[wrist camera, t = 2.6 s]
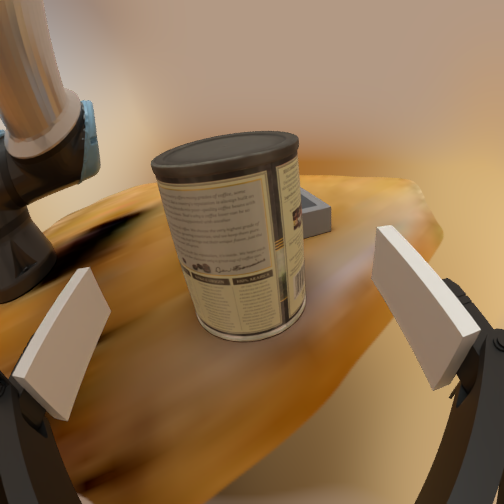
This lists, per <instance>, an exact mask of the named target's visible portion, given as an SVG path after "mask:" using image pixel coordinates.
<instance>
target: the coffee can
mask: <svg viewBox="0 0 504 504" xmlns="http://www.w3.org/2000/svg"><path fill="white" fill-rule="evenodd" d="M298 147H299V140H298V137H297V136H296V135H294V134H291V133H286V132H279V131H255V132H243V133H234V134H227V135H221V136H215V137H211V138H206V139H202V140H198V141H194V142H191V143H187V144H184V145H181V146H178V147H175V148H173V149H171V150H168V151H166V152H164V153H162V154H160V155H159V156H157V157H156V158H154V159H153V160H152V161H151V167H152V170H153V172H154V174H155V175H156V179H157V183H158V187H159V191H160V195H161V199H162V202H163V206H164V210H165V213H166V217H167V220H168V224H169V227H170V231H171V234H172V238H173V241H174V245H175V248H176V251H177V254H178V258H179V261H180V264H181V267H182V271H183V274H184V277H185V280H186V283H187V286H188V289H189V292H190V295H191V298H192V300H193V303H194V306H195V310H196V315H197V318H198V320H199V322H200V324H201V325H202V326H203V327H204V328H205V329H206V330H207V331H209V332H210V333H211V334H213V335H215V336H218V337H220V338H223V339H226V340H231V341H256V340H261V339H264V338H268V337H271V336H273V335H276V334H279V333H281V332H282V331H284V330H286V329H287V328H289V327H290V326H291V325H292V324H293V323H294V322H295V321H296V320H298V318H299V317H300V315H301V313H302V312H303V310H304V307H305V304H306V292H305V268H304V245H303V225H302V207H301V192H300V179H299V168H298V155H297V149H298Z"/></svg>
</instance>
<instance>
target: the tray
mask: <svg viewBox="0 0 504 504" xmlns="http://www.w3.org/2000/svg"><path fill="white" fill-rule="evenodd" d="M300 192H301V207H302V225H303V239H304V238H307V237H311V236H315V235H318V234H322V233H325V232H329V231H331V206H329V205H328V204H326V203H325V202H323V201H321V200H320V199H318V198H317V197H315V196H314V195H312V194H310V193H309V192H307V191H306V190H304V189H303V188H301V187H300Z"/></svg>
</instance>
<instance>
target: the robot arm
mask: <svg viewBox="0 0 504 504" xmlns="http://www.w3.org/2000/svg"><path fill="white" fill-rule="evenodd" d="M0 118H1V120H2V122H3V123H4V125H5V126H6V131H4V130H0V303H3V302H7V301H10V300H12V299H15V298H17V297H19V296H20V295H22V294H24V293H25V292H27V291H28V290H30V289H31V288H32V287H34V286H35V285H36V284H37V283H39V282H40V281H41V280H42V279H43V278H44V277H45V276H46V275H47V274H48V273H49V271H50V270H51V269H52V267H53V266H54V264H55V262H56V259H57V255H56V252H55V250H54V248H53V246H52V244H51V242H50V241H49V240H48V239H47V238H46V237H45V235H44V234H43V233H42V232H41V231H40V229H39V228H38V227H37V226H36V225H35V223H34V222H33V221H32V219H31V217H30V215H29V212H28V209H27V205H29V204H31V203H33V202H35V201H37V200H39V199H41V198H44V197H46V196H48V195H51V194H53V193H56V192H58V191H60V190H63V189H65V188H68V187H71V186H73V185H76V184H80V183H81V182H82V181H84V180H86V179H89V178H91V177H93V176H95V175H96V174H97V173H98V172H99V169H100V155H99V148H98V141H97V134H96V125H95V117H94V110H93V104H92V102H91V101H89V100H88V101H84V100H83V101H80V100H79V97H78V96H77V94H76V93H75V92H73V91H72V90H69V89H66V88H64V87H63V84H62V81H61V77H60V74H59V70H58V67H57V63H56V59H55V55H54V51H53V48H52V43H51V39H50V35H49V30H48V25H47V20H46V15H45V9H44V3H43V0H0ZM371 279H372V280H373V282H374V284H375V285H376V287H377V288H378V290H379V292H380V293H381V295H382V297H383V298H384V300H385V302H386V304H387V305H388V307H389V309H390V310H391V312H392V314H393V316H394V317H395V319H396V321H397V323H398V324H399V326H400V328H401V330H402V332H403V333H404V335H405V337H406V339H407V341H408V342H409V345H410V346H411V348H412V350H413V352H414V354H415V356H416V358H417V360H418V362H419V363H420V366H421V368H422V370H423V372H424V374H425V376H426V378H427V380H428V382H429V384H430V386H431V388H432V390H433V391H434V390H437V389H439V388H442V387H444V386H446V385H449V384H450V383H451V381H452V380H453V378H454V377H455V375H456V374H457V376H458V378H459V379H460V381H459V383H458V384H457V386H456V387H455V389H454V390H453V392H452V393H451V395H450V397H449V398H450V399H452V397H453V396H454V394H455V397H454V401H453V404H452V408H451V412H450V415H449V419H448V422H447V426H446V429H445V432H444V435H443V438H442V441H441V444H440V446H439V449H438V452H437V454H436V457H435V460H434V462H433V465H432V467H431V470H430V472H429V474H428V476H427V479H426V481H425V483H424V485H423V487H422V490H421V492H420V494H419V496H418V498H417V500H416V502H415V504H493V501H494V498H495V495H496V492H497V489H498V486H499V489H498V497H497V503H496V504H504V330H503V329H493V328H492V327H491V325H490V324H489V323H488V321H487V320H486V319H485V317H484V316H483V315H482V313H481V312H480V311H479V310H478V308H477V307H476V306H475V305H474V303H472V302H471V300H470V298H469V297H468V296H466V294H465V292H464V291H463V290H462V289H461V288H460V287H459V285H457V284H456V283H454V282H452V281H451V280H450V279H448V278H446V279H441V278H440V277H439V276H438V275H437V273H436V272H435V271H434V270H433V269H432V268H431V267H430V265H429V264H428V263H427V262H426V261H425V260H424V259H423V258H422V256H421V255H420V254H419V253H418V252H417V251H416V250H415V249H414V248H413V247H412V246H411V245H410V244H409V243H408V241H407V240H406V239H405V238H404V237H403V236H402V235H401V234H400V233H399V232H398V231H397V230H396V229H395V228H394V227H393V226H392V225H389V226H381V227H377V229H376V241H375V251H374V261H373V269H372V278H371ZM110 313H111V310H110V308H109V306H108V304H107V302H106V300H105V298H104V296H103V294H102V292H101V290H100V288H99V286H98V284H97V282H96V280H95V277H94V275H93V273H92V271H91V269H90V267H86V268H80V269H77V271H76V272H75V273H74V275H73V276H72V278H71V279H70V280H69V282H68V283H67V285H66V286H65V288H64V289H63V290H62V292H61V293H60V295H59V296H58V298H57V299H56V301H55V302H54V304H53V305H52V307H51V308H50V310H49V312H48V313H47V315H46V316H45V318H44V319H43V321H42V323H41V324H40V326H39V328H38V329H37V331H36V332H35V333H34V334H33V335H32V337H31V338H30V340H29V342H28V343H27V347H25V349H24V351H23V354H21V356H20V358H19V360H18V362H17V363H16V365H15V367H14V369H13V371H12V373H11V375H10V377H9V379H7V378H6V377H5V376H4V374H3V373H2V372H1V371H0V504H82V503H81V501H80V499H79V497H78V495H77V493H76V491H75V489H74V487H73V484H72V482H71V480H70V478H69V476H68V473H67V471H66V468H65V466H64V464H63V461H62V458H61V456H60V453H59V450H58V448H57V445H56V442H55V439H54V436H53V433H52V430H51V427H50V424H49V421H48V419H47V418H46V417H45V416H44V414H45V412H46V411H47V412H48V413H49V414H50V415H52V416H53V417H54V418H56V419H60V420H64V421H68V419H69V416H70V413H71V410H72V407H73V404H74V401H75V399H76V396H77V393H78V390H79V387H80V385H81V382H82V379H83V377H84V374H85V371H86V369H87V366H88V364H89V361H90V359H91V356H92V354H93V351H94V349H95V347H96V344H97V342H98V340H99V337H100V335H101V333H102V330H103V328H104V326H105V324H106V321H107V319H108V317H109V315H110Z"/></svg>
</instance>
